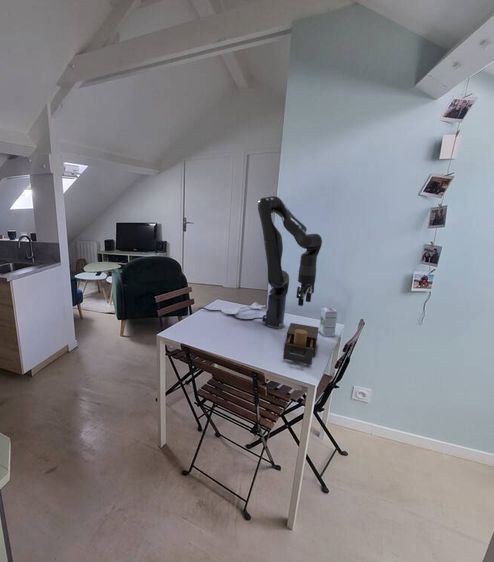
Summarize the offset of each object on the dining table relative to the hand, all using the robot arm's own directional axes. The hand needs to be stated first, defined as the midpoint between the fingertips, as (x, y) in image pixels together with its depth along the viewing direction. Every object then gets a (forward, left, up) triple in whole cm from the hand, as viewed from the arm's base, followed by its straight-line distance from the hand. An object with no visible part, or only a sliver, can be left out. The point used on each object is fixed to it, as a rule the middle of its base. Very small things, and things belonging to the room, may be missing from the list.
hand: (304, 303), depth 163 cm
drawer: (+1, -25, -19) cm, 31 cm away
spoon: (-37, +28, -20) cm, 50 cm away
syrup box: (+11, +13, -20) cm, 27 cm away
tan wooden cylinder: (+1, -24, -18) cm, 30 cm away
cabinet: (+1, -11, -20) cm, 23 cm away
